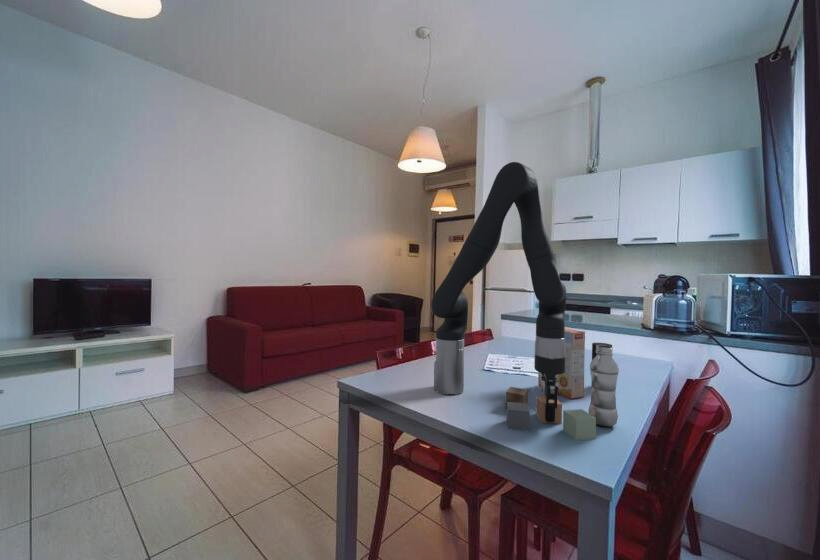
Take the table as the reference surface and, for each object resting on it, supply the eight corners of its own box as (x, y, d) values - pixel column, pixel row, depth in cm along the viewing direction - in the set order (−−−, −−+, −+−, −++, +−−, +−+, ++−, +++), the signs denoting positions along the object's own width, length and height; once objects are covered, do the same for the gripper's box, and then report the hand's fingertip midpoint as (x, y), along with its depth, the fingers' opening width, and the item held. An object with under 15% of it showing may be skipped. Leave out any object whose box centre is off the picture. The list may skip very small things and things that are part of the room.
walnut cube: (505, 409, 93) (505, 391, 93) (510, 403, 98) (510, 386, 98) (523, 413, 91) (523, 395, 91) (527, 407, 95) (527, 389, 95)
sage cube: (576, 440, 76) (576, 419, 76) (563, 430, 81) (563, 410, 81) (595, 439, 76) (596, 418, 76) (581, 429, 81) (582, 409, 81)
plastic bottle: (606, 418, 88) (608, 343, 87) (624, 430, 81) (625, 349, 81) (583, 418, 87) (584, 343, 87) (598, 430, 81) (599, 349, 80)
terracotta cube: (541, 422, 85) (541, 403, 85) (536, 414, 90) (536, 396, 90) (561, 423, 84) (561, 404, 84) (555, 415, 89) (555, 397, 89)
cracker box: (585, 397, 103) (586, 331, 103) (570, 400, 101) (571, 332, 100) (550, 383, 116) (551, 324, 116) (537, 385, 114) (538, 325, 113)
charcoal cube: (508, 429, 81) (508, 409, 81) (506, 420, 86) (506, 401, 86) (529, 431, 80) (529, 411, 80) (526, 422, 85) (527, 403, 85)
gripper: (532, 346, 95) (531, 405, 95) (536, 358, 81) (535, 426, 81) (561, 348, 93) (560, 408, 93) (570, 361, 79) (568, 431, 79)
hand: (548, 416), depth 87 cm, fingers closed on terracotta cube, 5 cm apart
